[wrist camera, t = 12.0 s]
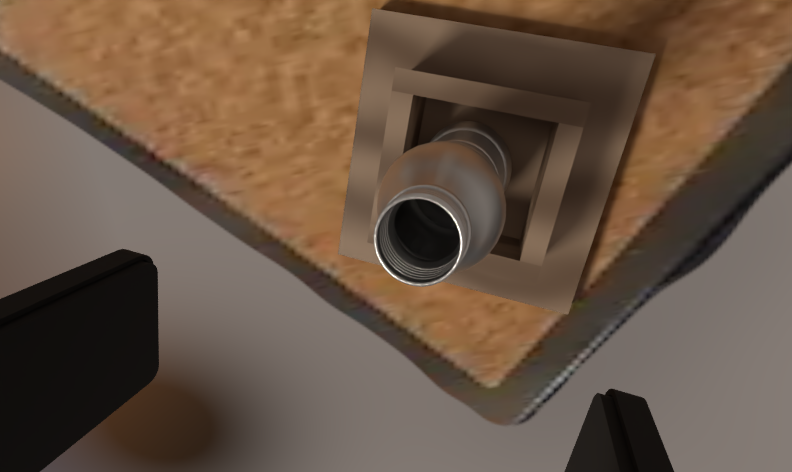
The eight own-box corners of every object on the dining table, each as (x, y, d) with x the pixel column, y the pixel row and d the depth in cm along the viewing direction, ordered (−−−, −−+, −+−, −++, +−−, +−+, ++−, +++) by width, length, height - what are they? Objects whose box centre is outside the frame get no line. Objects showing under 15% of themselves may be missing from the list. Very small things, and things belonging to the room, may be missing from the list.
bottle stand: (378, 11, 36) (349, -5, 30) (649, 55, 32) (679, 47, 26) (343, 248, 43) (315, 274, 37) (566, 306, 39) (574, 346, 33)
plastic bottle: (517, 121, 34) (515, 159, 16) (506, 210, 37) (493, 334, 18) (431, 116, 36) (338, 144, 17) (425, 201, 38) (336, 308, 19)
